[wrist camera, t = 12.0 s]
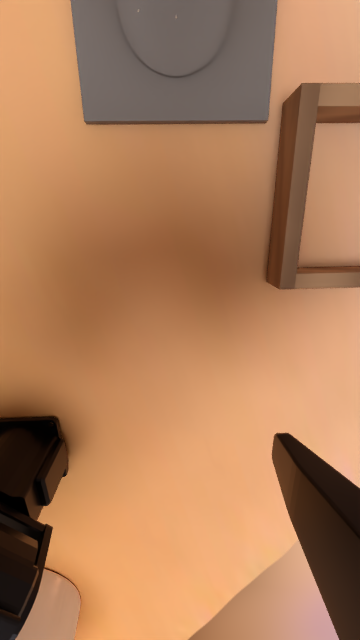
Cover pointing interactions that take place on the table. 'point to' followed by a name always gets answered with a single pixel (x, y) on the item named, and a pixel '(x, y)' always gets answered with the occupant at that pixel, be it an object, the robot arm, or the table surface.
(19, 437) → the robot arm
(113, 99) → the rubber mat
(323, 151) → the table surface
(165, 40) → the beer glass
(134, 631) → the table surface
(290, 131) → the brown square tray
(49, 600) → the utensil holder
